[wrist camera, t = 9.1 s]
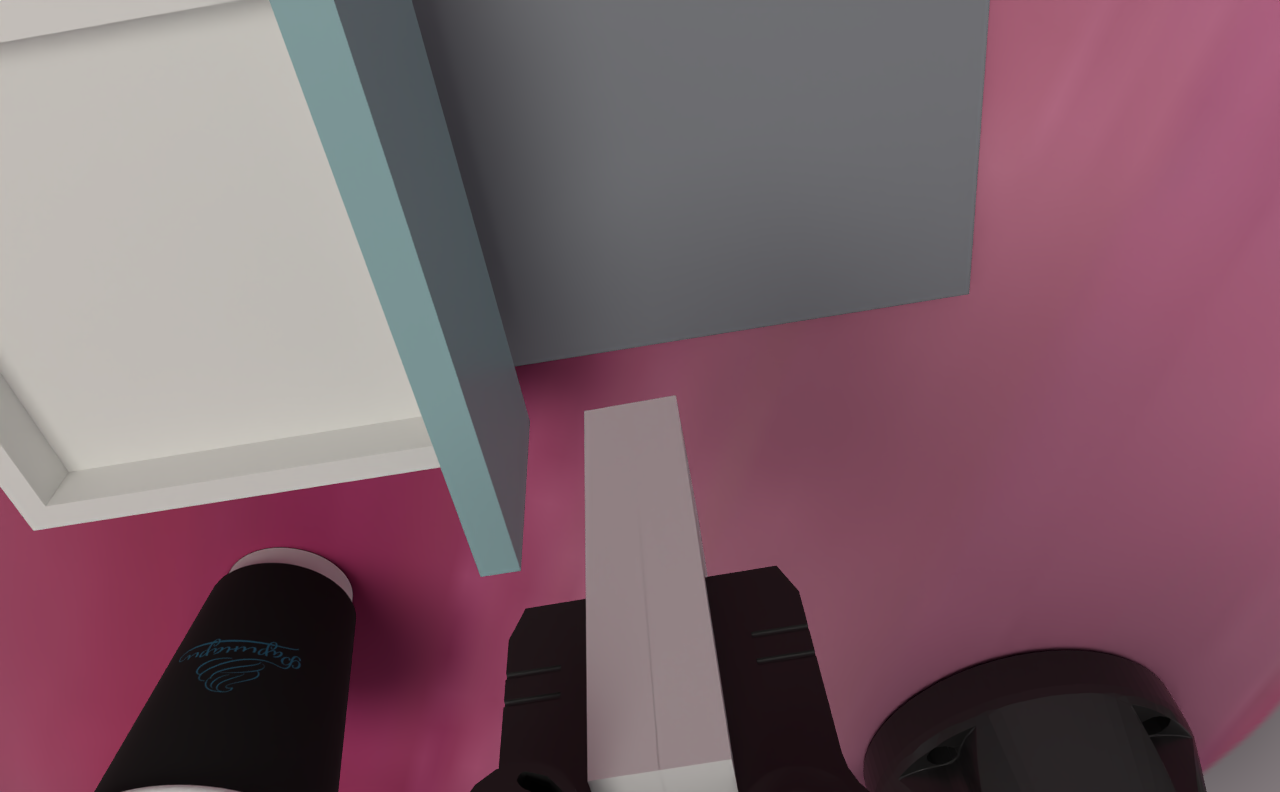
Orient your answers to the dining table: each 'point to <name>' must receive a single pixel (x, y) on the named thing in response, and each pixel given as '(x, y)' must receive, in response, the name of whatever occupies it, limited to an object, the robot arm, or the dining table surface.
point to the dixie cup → (251, 687)
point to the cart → (241, 265)
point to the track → (709, 159)
